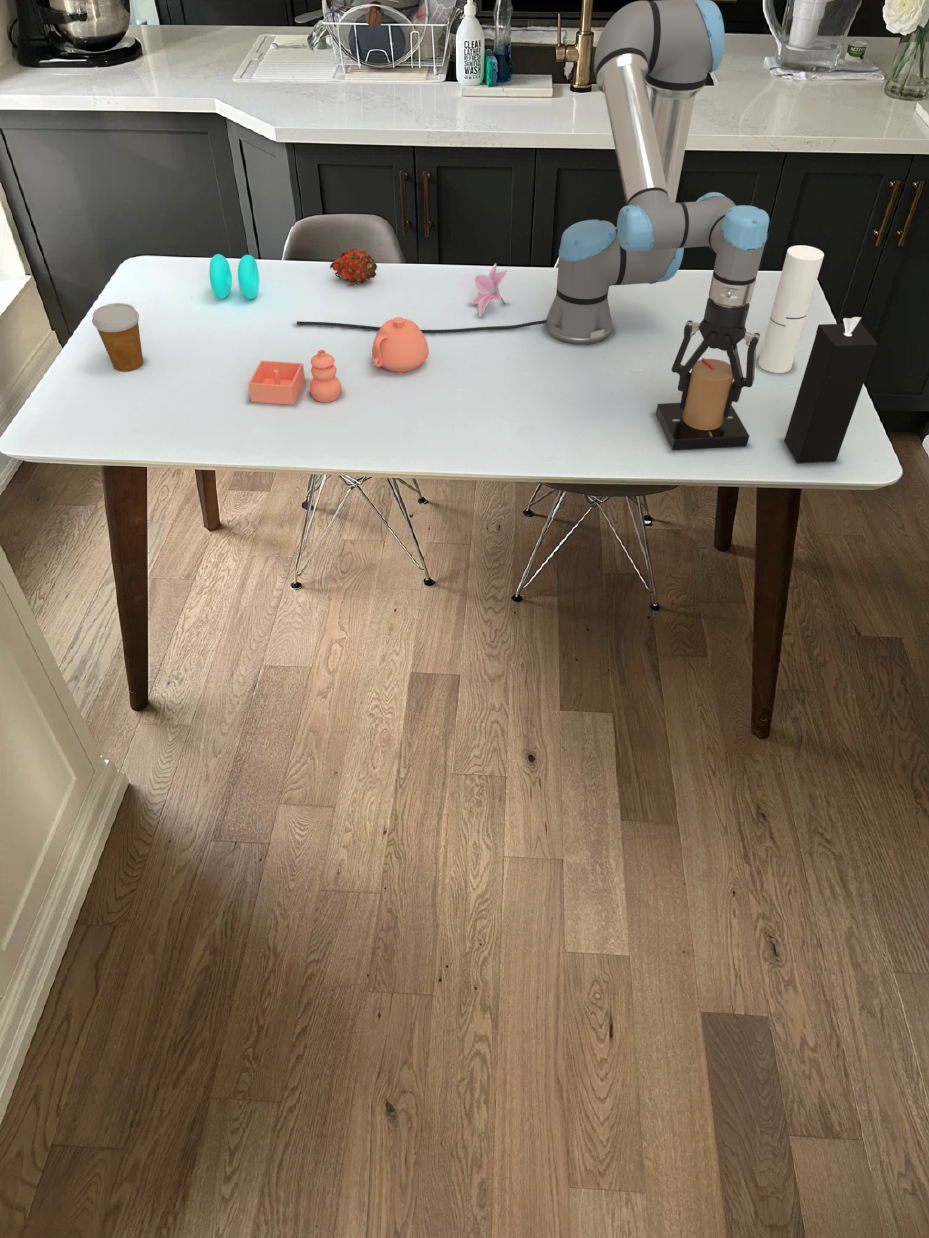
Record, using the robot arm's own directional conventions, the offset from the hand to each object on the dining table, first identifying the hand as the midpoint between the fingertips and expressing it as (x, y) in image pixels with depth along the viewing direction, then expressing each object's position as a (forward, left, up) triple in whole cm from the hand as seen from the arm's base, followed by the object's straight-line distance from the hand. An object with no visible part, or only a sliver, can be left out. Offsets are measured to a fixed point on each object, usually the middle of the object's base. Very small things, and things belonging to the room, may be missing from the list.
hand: (704, 409), depth 181 cm
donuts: (-110, +40, -5) cm, 117 cm away
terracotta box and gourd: (-83, 0, -5) cm, 83 cm away
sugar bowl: (-65, +15, -5) cm, 67 cm away
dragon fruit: (-84, +53, -5) cm, 99 cm away
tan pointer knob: (0, 0, -2) cm, 2 cm away
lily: (-49, +45, -5) cm, 67 cm away
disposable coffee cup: (-123, +5, -5) cm, 123 cm away
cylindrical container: (+17, +29, -5) cm, 34 cm away
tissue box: (+21, -4, -5) cm, 22 cm away
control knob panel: (0, 0, -5) cm, 5 cm away
